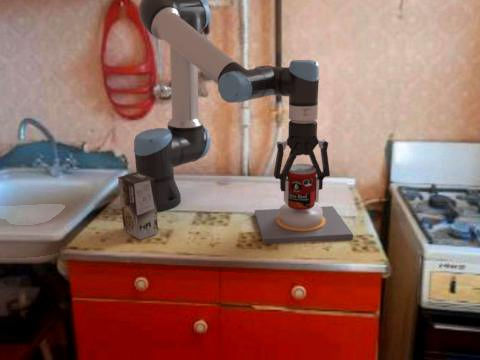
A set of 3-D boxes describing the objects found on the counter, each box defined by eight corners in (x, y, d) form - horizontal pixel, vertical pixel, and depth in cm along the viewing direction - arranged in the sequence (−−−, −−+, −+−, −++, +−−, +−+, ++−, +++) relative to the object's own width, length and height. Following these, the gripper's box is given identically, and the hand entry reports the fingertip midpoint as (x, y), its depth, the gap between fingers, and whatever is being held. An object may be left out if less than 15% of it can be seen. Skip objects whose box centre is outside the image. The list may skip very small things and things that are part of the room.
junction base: (254, 214, 145) (254, 199, 144) (332, 210, 147) (333, 195, 146) (263, 244, 126) (263, 226, 125) (352, 239, 128) (353, 221, 127)
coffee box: (159, 233, 134) (155, 178, 129) (139, 240, 130) (133, 183, 125) (142, 223, 141) (137, 171, 135) (122, 230, 137) (117, 176, 131)
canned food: (282, 207, 133) (283, 169, 130) (293, 198, 140) (294, 162, 136) (308, 212, 130) (310, 173, 126) (318, 202, 136) (320, 165, 133)
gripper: (266, 124, 123) (266, 207, 130) (345, 121, 124) (341, 204, 132) (262, 118, 130) (262, 198, 137) (337, 116, 131) (333, 194, 139)
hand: (300, 200), depth 134 cm, fingers closed on canned food, 8 cm apart
